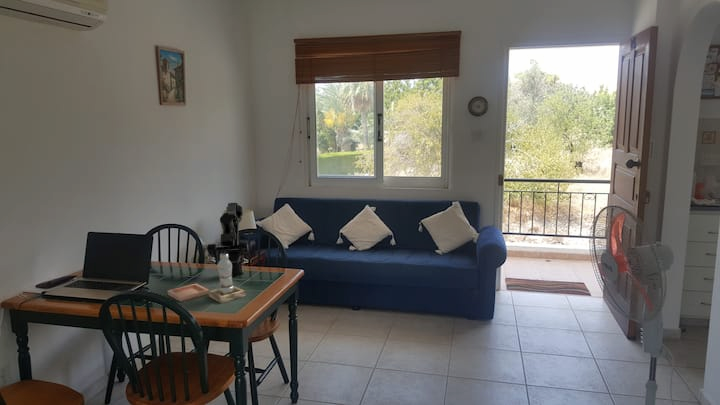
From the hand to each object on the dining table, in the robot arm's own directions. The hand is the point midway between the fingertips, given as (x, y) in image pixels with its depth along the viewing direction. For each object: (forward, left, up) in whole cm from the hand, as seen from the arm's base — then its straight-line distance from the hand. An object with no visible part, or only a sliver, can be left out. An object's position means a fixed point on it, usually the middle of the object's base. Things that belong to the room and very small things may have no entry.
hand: (227, 263), depth 228 cm
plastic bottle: (+4, +6, -14) cm, 15 cm away
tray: (+15, -10, -13) cm, 23 cm away
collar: (+4, +6, -13) cm, 15 cm away
